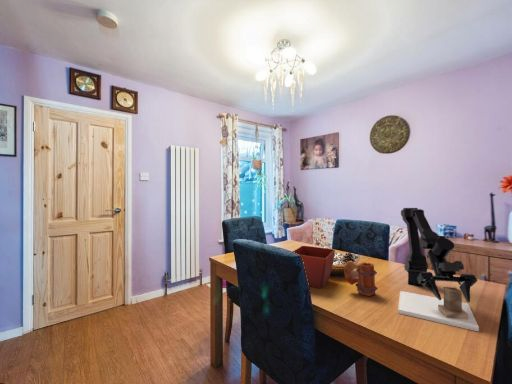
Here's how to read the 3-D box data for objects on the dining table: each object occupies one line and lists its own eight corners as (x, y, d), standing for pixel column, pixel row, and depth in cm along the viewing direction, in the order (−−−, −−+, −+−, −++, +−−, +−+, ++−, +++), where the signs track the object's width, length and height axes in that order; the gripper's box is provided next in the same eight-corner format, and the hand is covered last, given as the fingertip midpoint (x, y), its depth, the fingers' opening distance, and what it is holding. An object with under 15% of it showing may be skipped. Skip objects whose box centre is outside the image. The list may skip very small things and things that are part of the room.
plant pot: (326, 292, 116) (325, 258, 116) (289, 285, 126) (289, 253, 126) (336, 279, 132) (335, 249, 132) (302, 273, 142) (302, 245, 142)
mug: (376, 291, 116) (375, 260, 116) (378, 298, 109) (378, 265, 109) (344, 287, 121) (343, 258, 121) (344, 294, 114) (343, 263, 113)
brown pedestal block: (446, 317, 90) (446, 292, 89) (438, 309, 95) (437, 285, 95) (468, 319, 88) (468, 293, 88) (458, 311, 94) (458, 286, 94)
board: (398, 313, 96) (398, 309, 96) (400, 294, 113) (400, 290, 113) (478, 331, 83) (478, 327, 83) (467, 306, 100) (467, 303, 100)
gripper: (419, 251, 97) (433, 290, 87) (474, 253, 93) (495, 294, 82) (412, 265, 105) (423, 301, 95) (462, 267, 101) (480, 306, 90)
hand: (454, 301), depth 90 cm, fingers open, 9 cm apart
